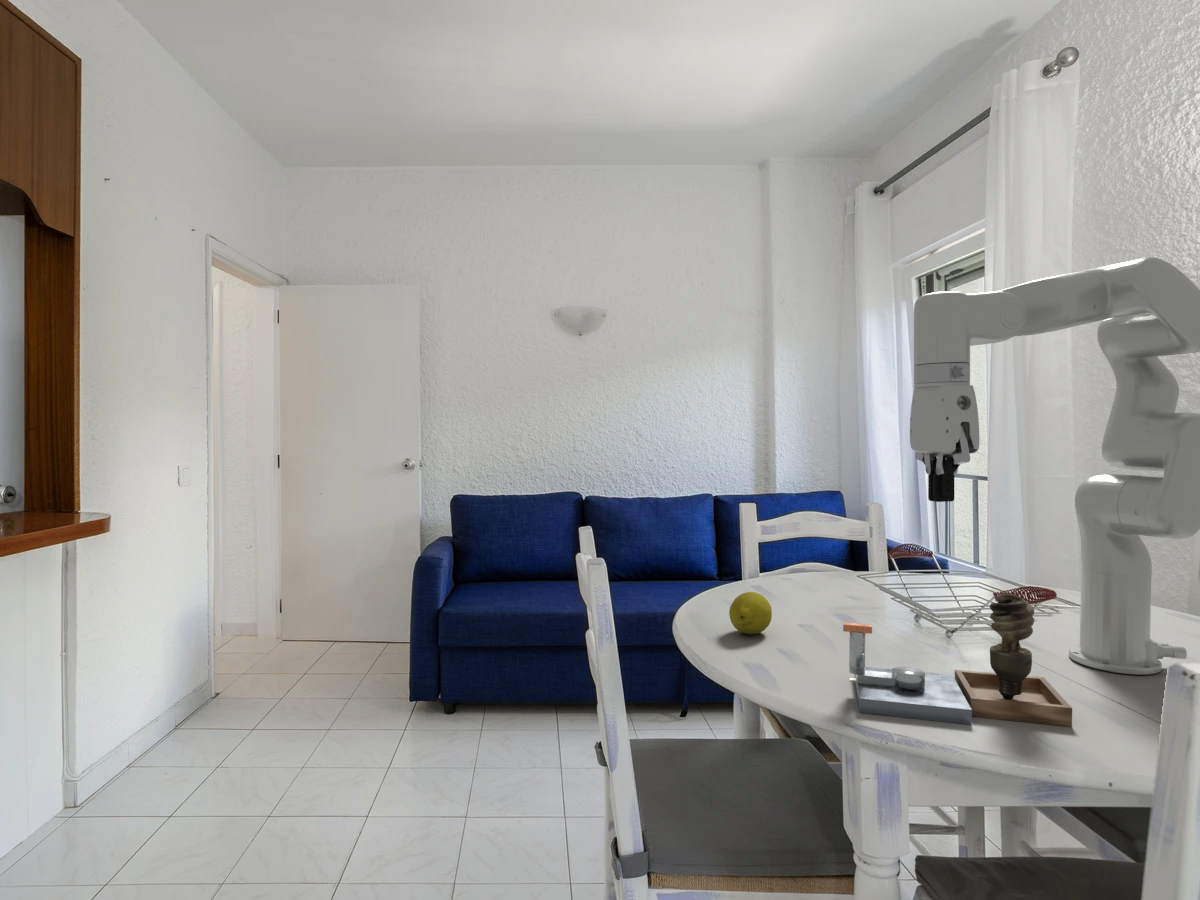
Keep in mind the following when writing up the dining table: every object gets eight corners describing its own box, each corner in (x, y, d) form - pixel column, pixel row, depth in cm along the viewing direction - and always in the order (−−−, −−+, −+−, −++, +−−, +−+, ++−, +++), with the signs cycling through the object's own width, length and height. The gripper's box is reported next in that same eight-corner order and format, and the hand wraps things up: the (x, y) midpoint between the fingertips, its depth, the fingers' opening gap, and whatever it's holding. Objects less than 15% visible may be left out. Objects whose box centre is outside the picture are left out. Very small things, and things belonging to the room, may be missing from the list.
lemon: (744, 624, 142) (744, 585, 142) (780, 631, 137) (780, 590, 137) (717, 637, 134) (717, 595, 134) (755, 644, 129) (755, 601, 129)
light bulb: (993, 688, 104) (994, 588, 104) (1036, 697, 101) (1037, 593, 101) (985, 700, 100) (986, 595, 100) (1029, 709, 97) (1031, 601, 96)
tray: (1043, 694, 104) (1043, 677, 104) (1071, 726, 93) (1072, 708, 93) (954, 685, 108) (954, 669, 108) (971, 716, 97) (971, 698, 96)
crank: (922, 680, 104) (923, 626, 104) (926, 691, 100) (927, 634, 99) (842, 672, 107) (842, 619, 107) (843, 682, 103) (843, 627, 103)
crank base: (952, 687, 107) (952, 673, 107) (971, 724, 94) (971, 708, 94) (847, 677, 112) (847, 664, 112) (852, 711, 98) (852, 696, 98)
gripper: (1001, 373, 98) (1000, 505, 98) (931, 380, 112) (930, 495, 113) (953, 373, 96) (953, 507, 97) (888, 380, 111) (888, 497, 112)
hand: (941, 500), depth 105 cm, fingers closed
